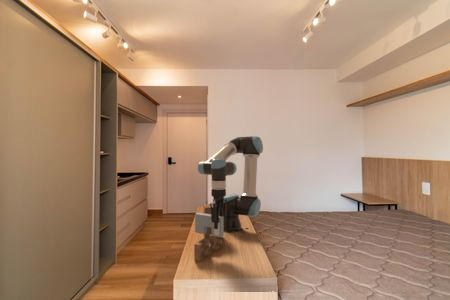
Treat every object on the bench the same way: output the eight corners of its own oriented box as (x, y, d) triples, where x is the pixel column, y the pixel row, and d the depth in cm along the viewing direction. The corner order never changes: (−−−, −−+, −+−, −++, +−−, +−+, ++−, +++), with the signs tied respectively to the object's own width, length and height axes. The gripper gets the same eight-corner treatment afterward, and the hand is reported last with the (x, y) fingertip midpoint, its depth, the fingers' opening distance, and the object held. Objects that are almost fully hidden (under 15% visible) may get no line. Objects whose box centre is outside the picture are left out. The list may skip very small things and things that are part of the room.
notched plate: (198, 230, 127) (198, 212, 127) (223, 235, 119) (223, 216, 120) (195, 232, 125) (195, 213, 125) (220, 237, 117) (220, 217, 117)
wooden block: (221, 240, 139) (221, 207, 140) (204, 241, 138) (204, 207, 138) (218, 234, 149) (218, 203, 149) (203, 235, 148) (203, 204, 148)
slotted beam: (217, 244, 132) (217, 230, 132) (221, 245, 131) (221, 231, 131) (194, 260, 113) (194, 244, 113) (199, 261, 112) (199, 245, 112)
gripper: (220, 186, 128) (220, 228, 128) (203, 190, 114) (204, 237, 114) (232, 187, 125) (232, 230, 124) (216, 191, 111) (217, 240, 110)
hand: (218, 233), depth 119 cm, fingers closed on notched plate, 3 cm apart
